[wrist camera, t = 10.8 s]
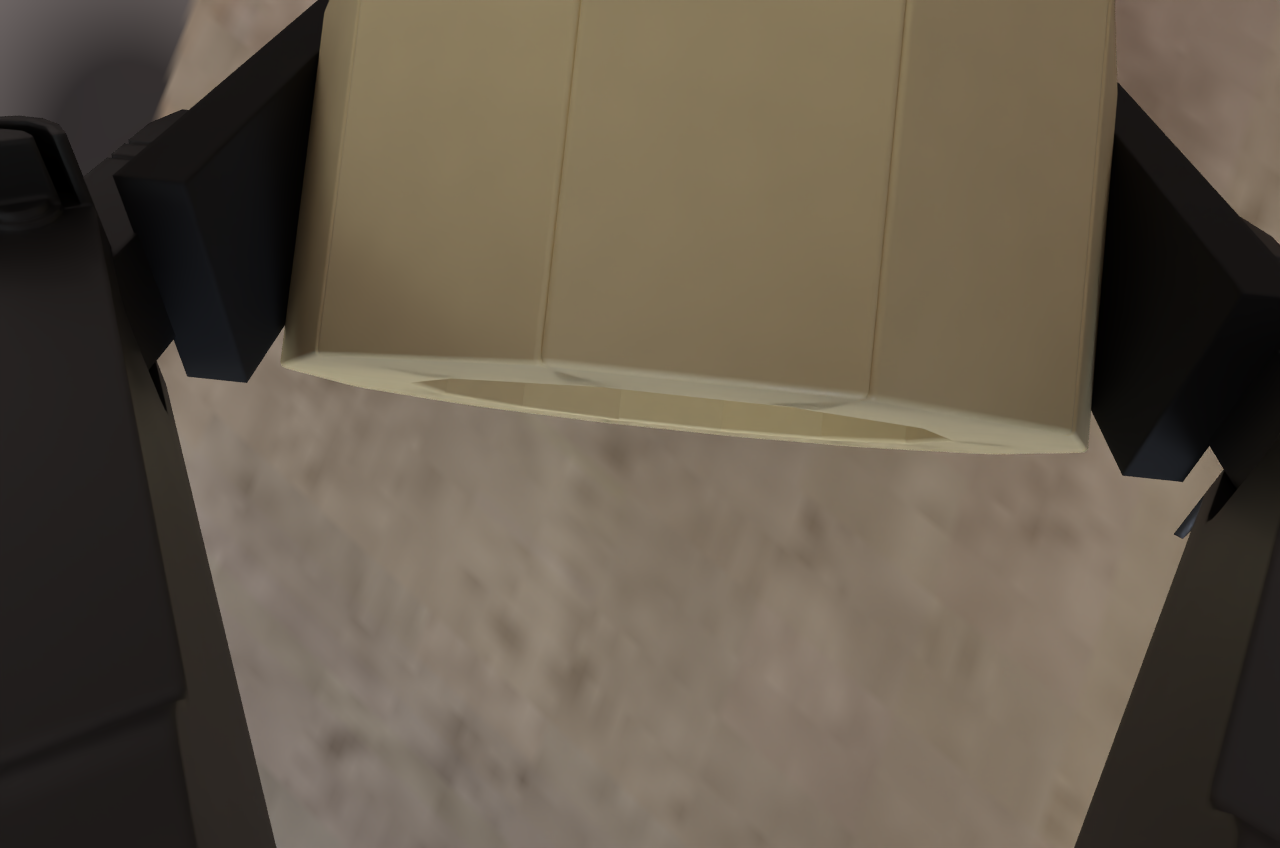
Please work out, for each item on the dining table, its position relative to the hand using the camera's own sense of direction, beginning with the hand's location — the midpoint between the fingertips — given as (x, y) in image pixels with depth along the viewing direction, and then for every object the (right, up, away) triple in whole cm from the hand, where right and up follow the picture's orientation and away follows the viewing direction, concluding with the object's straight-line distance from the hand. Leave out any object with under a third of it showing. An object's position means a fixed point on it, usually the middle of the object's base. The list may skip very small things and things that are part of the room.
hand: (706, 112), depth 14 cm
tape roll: (0, -3, -1) cm, 3 cm away
